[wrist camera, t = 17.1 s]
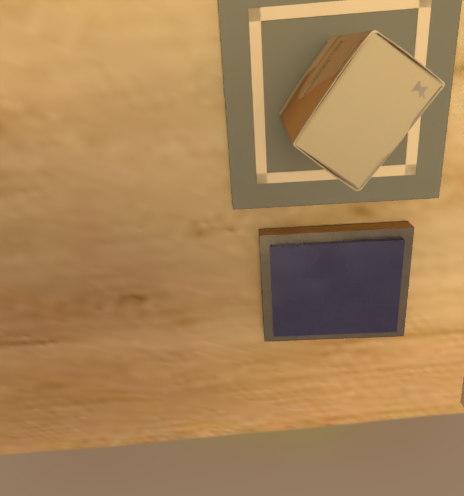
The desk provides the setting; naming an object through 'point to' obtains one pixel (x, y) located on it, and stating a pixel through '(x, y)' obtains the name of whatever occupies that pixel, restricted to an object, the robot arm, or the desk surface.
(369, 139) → the skincare box
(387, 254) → the ink pad
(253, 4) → the marked board
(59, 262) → the desk surface
